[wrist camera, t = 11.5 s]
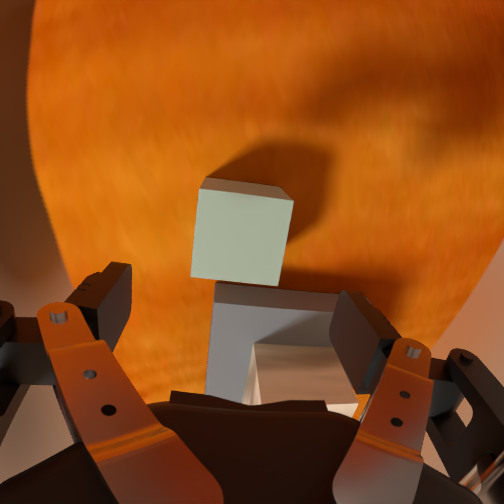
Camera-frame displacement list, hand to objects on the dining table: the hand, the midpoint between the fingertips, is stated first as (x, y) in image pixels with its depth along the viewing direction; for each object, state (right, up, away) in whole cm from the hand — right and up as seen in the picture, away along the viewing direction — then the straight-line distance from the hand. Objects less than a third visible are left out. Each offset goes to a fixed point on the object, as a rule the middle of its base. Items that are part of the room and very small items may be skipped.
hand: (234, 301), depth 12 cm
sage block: (0, +4, +10) cm, 11 cm away
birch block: (+3, -8, +12) cm, 14 cm away
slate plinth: (+3, -7, +14) cm, 16 cm away
